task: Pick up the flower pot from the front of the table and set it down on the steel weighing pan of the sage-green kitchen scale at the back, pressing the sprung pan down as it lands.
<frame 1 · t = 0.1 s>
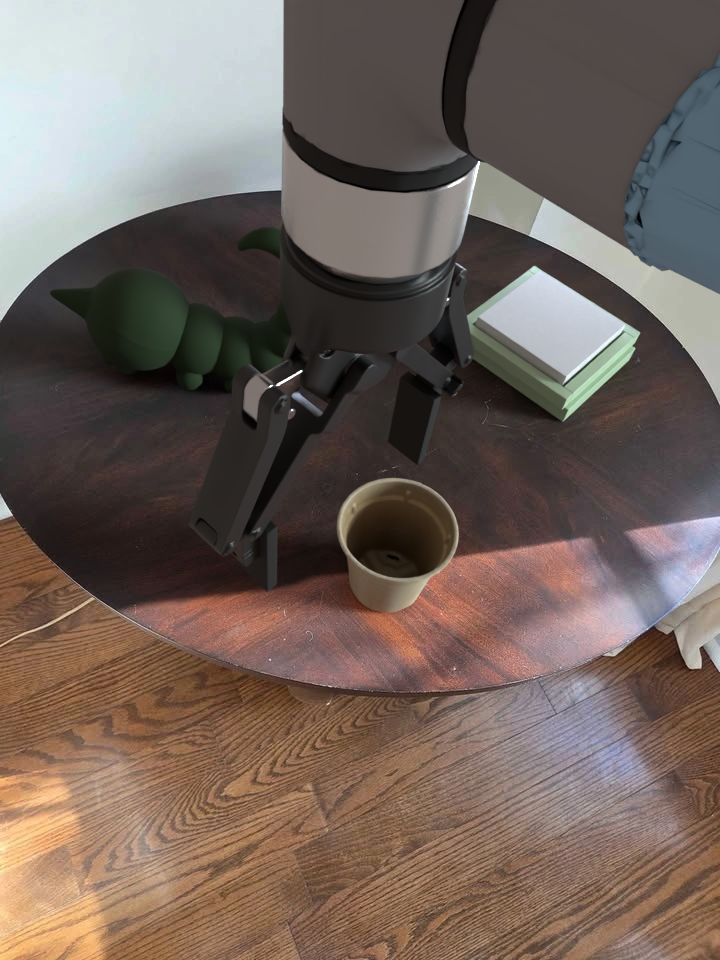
hand: (336, 508, 50), 17 cm above the table, tool pointing down, fingers open, 13 cm apart
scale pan: (550, 326, 82), point 4 cm above the table, slide at 0.0 cm
scale: (540, 351, 85), on the table
toy figurine: (200, 372, 79), on the table
flower pot: (384, 581, 67), on the table
lidded bowl: (382, 300, 87), on the table
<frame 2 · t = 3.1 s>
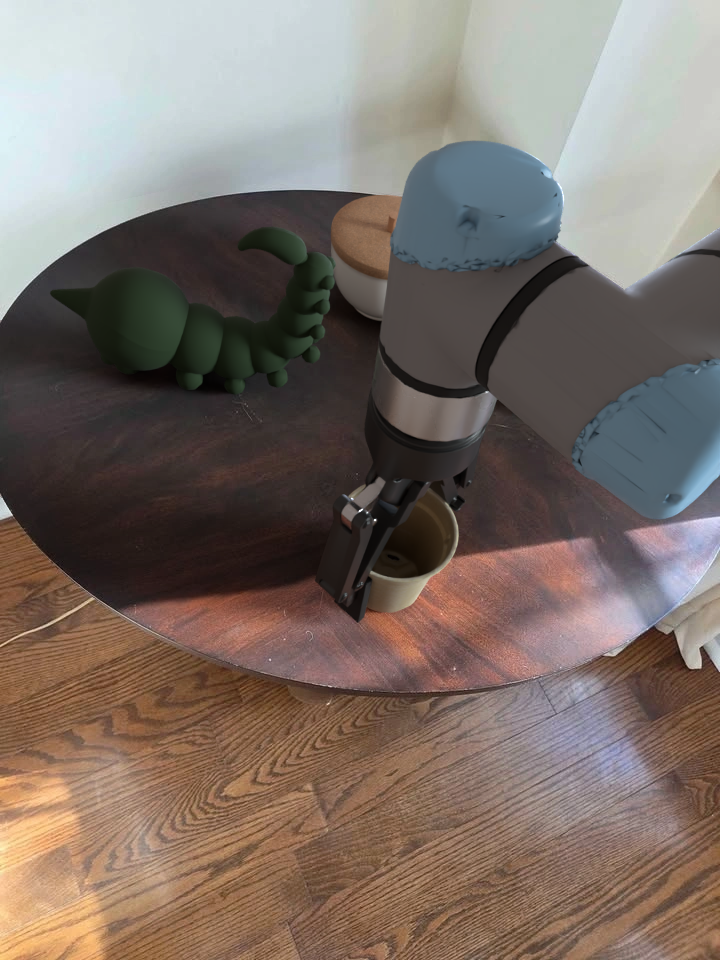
hand: (386, 575, 66), 1 cm above the table, tool pointing down, fingers closed on flower pot, 8 cm apart
flower pot: (384, 581, 67), on the table, touching gripper
everything else where it was.
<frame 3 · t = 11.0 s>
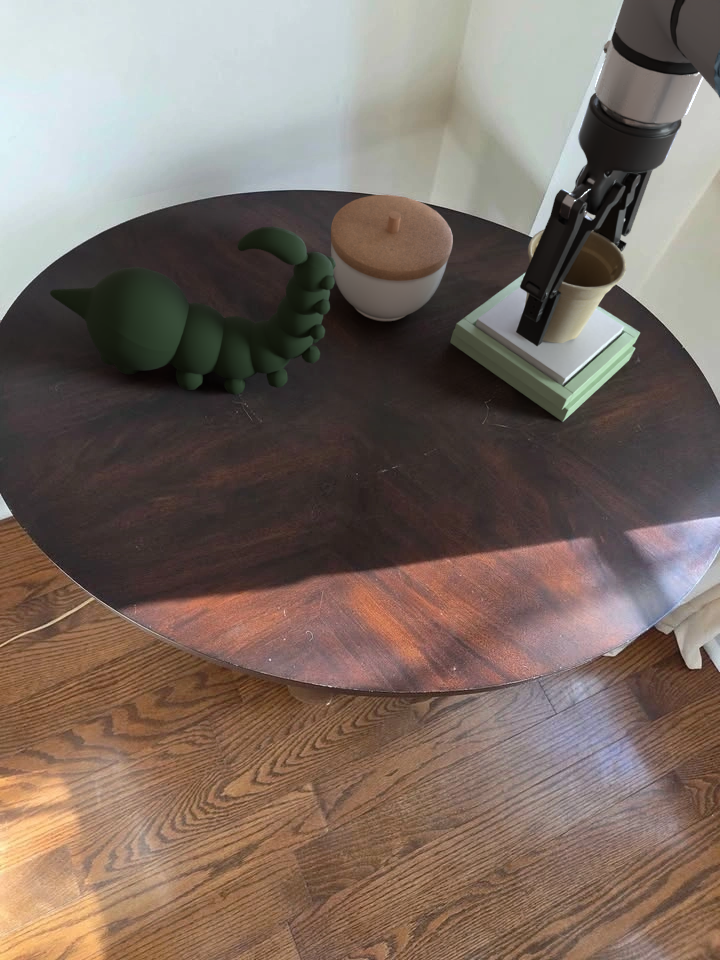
hand: (554, 316, 80), 5 cm above the table, tool pointing down, fingers closed on flower pot, 8 cm apart
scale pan: (549, 328, 82), point 3 cm above the table, slide at -0.3 cm, touching flower pot
flower pot: (550, 324, 81), point 4 cm above the table, touching gripper, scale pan
everything else where it was.
when the fingers open (5 cm above the table, at t = 11.2 s): flower pot moves 4 cm, resting on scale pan.
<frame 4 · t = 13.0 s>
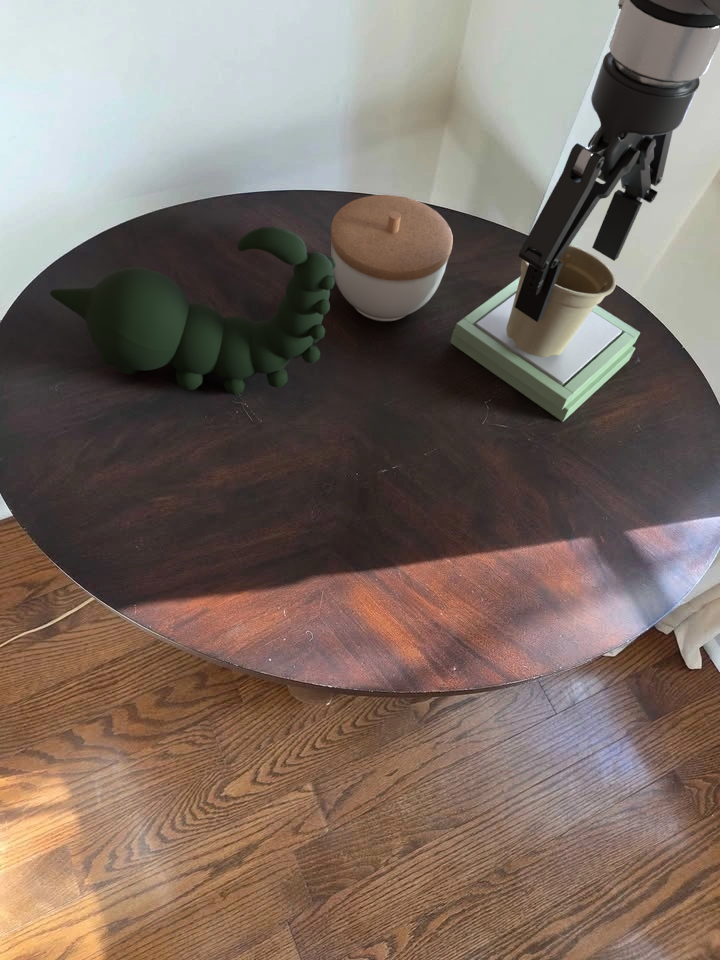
hand: (567, 281, 77), 10 cm above the table, tool pointing down, fingers open, 13 cm apart
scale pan: (547, 332, 82), point 3 cm above the table, slide at -0.9 cm, touching flower pot
flower pot: (533, 340, 80), point 4 cm above the table, touching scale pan
everything else where it was.
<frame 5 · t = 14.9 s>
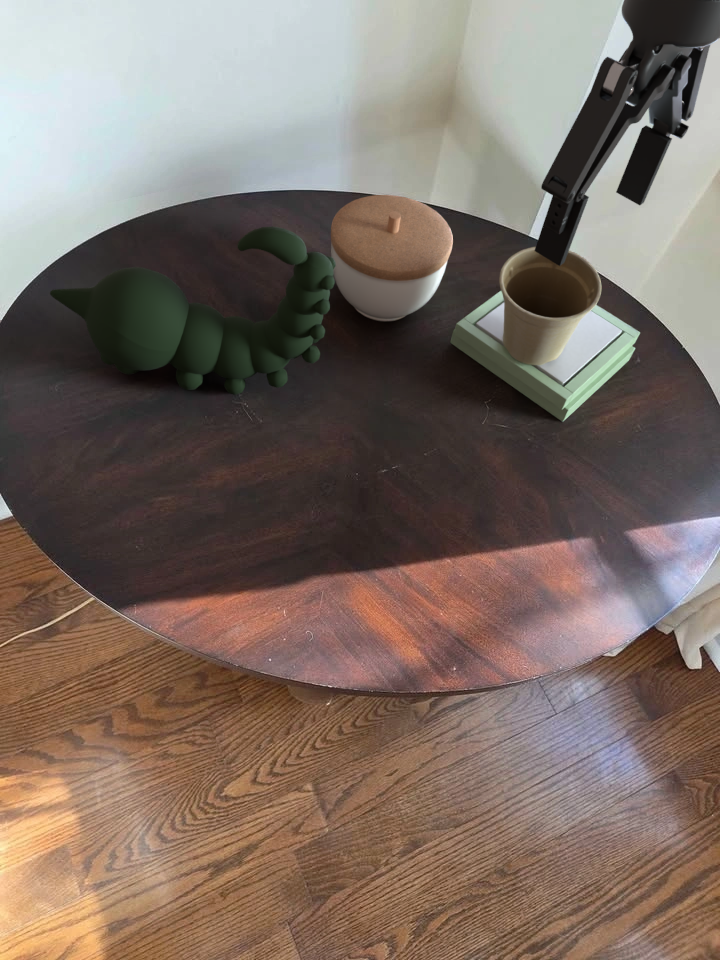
hand: (591, 226, 71), 16 cm above the table, tool pointing down, fingers open, 13 cm apart
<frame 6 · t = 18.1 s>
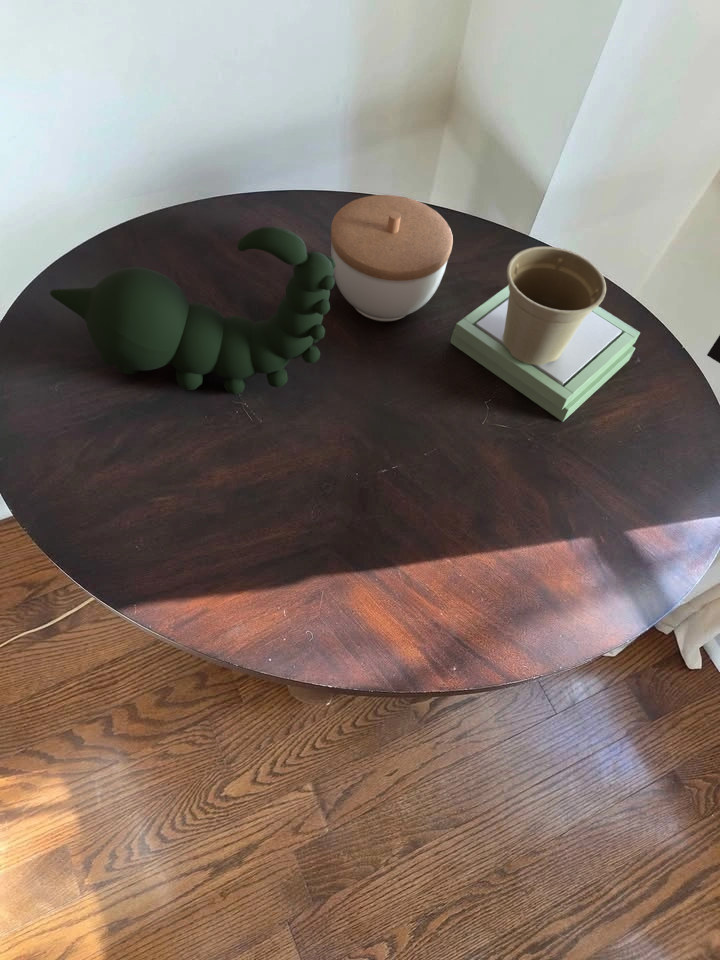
at the end: flower pot inside the target area on the scale (3.5 cm from its centre), point 3.4 cm above the scale's base; flower pot tilted 0°; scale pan pushed in 1.1 cm at the most during the clip, back to 0.9 cm at the end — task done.
